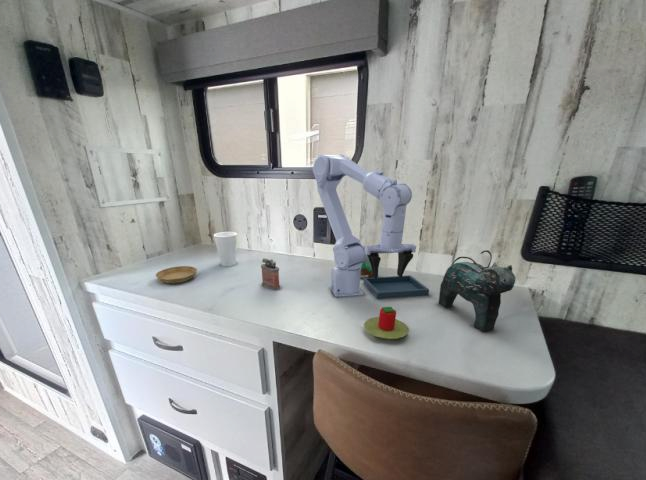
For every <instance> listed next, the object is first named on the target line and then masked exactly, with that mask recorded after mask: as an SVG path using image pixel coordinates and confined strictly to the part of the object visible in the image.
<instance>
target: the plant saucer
mask: <svg viewBox="0 0 646 480" xmlns="http://www.w3.org/2000/svg"><path fill="white" fill-rule="evenodd" d="M197 272H198V268H196V267H194V266H190V265H181V266H180V265H178V266H171V267H168V268H163V269H161V270H160V271H158V272H156V273H155V277H156V278H157V279H158V280H160V281H162V282H163V283H166V284H182V283H185V282H188V281H189V280H191V279H192V278H193V277H195V276H196V273H197Z"/></svg>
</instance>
